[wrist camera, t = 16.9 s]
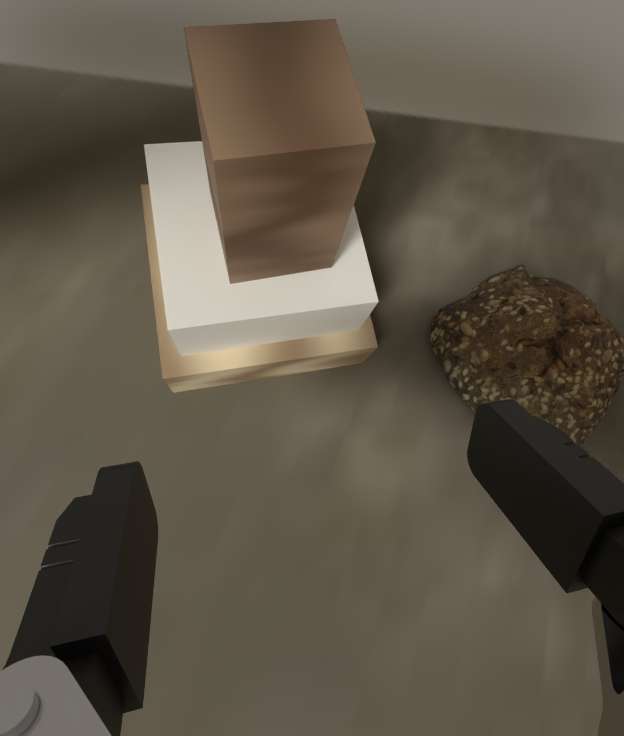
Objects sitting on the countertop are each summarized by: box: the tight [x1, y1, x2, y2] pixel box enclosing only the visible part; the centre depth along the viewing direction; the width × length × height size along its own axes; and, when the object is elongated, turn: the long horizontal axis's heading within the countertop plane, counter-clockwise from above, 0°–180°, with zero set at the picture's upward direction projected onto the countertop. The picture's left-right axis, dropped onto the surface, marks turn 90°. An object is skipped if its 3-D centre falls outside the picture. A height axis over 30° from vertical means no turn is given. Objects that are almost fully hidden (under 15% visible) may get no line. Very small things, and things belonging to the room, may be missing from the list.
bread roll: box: [430, 266, 624, 445], centre depth 27 cm, size 13×12×5 cm
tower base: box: [141, 184, 378, 392], centre depth 27 cm, size 12×12×4 cm
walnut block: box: [184, 19, 376, 284], centre depth 17 cm, size 5×5×8 cm
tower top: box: [144, 141, 379, 356], centre depth 23 cm, size 10×10×4 cm
